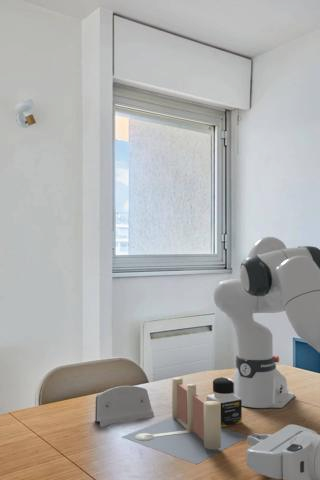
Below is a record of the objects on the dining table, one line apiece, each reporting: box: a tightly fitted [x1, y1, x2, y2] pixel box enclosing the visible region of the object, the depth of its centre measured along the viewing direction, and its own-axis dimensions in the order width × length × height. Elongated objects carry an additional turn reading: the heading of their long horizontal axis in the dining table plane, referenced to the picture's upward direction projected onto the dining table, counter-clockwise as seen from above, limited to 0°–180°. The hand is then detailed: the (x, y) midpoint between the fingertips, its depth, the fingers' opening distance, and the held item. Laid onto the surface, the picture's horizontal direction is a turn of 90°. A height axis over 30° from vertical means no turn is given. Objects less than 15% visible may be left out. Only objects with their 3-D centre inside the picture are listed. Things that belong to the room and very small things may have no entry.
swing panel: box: [193, 394, 222, 449], centre depth 117 cm, size 13×4×10 cm, turn 18°
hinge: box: [94, 385, 155, 427], centre depth 137 cm, size 17×5×10 cm, turn 115°
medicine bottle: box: [206, 376, 243, 428], centre depth 133 cm, size 7×7×12 cm
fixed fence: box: [171, 377, 197, 433], centre depth 131 cm, size 14×3×12 cm, turn 18°
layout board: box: [121, 416, 249, 465], centre depth 122 cm, size 22×24×1 cm
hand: (250, 438), depth 107 cm, fingers closed
